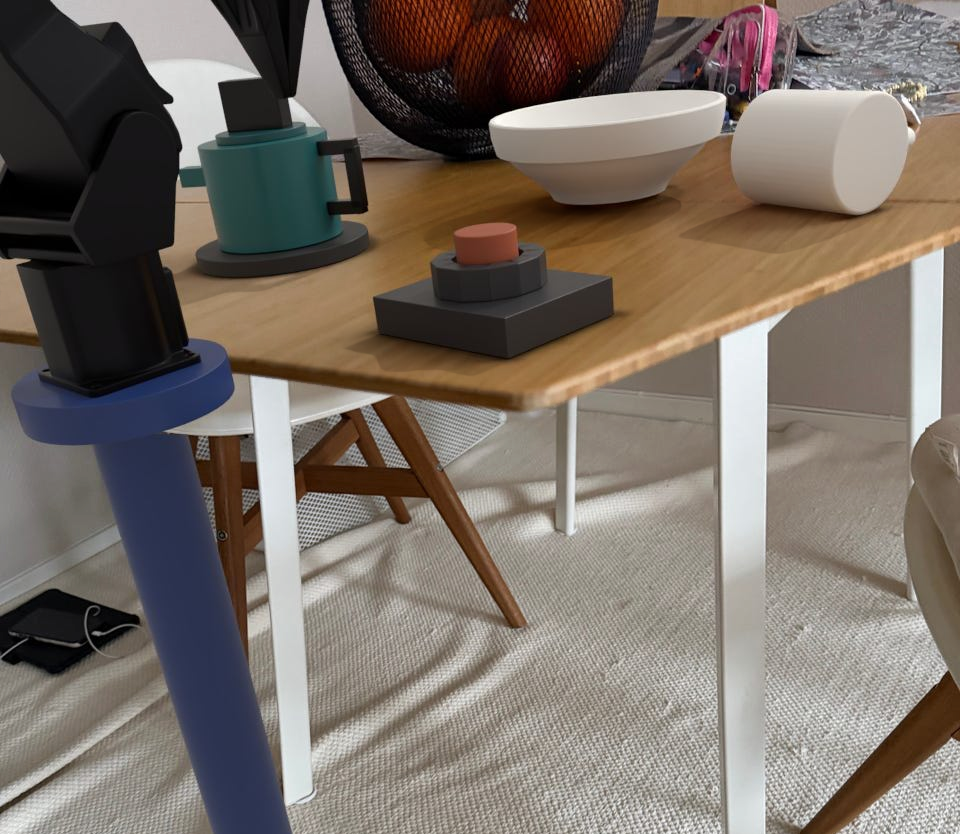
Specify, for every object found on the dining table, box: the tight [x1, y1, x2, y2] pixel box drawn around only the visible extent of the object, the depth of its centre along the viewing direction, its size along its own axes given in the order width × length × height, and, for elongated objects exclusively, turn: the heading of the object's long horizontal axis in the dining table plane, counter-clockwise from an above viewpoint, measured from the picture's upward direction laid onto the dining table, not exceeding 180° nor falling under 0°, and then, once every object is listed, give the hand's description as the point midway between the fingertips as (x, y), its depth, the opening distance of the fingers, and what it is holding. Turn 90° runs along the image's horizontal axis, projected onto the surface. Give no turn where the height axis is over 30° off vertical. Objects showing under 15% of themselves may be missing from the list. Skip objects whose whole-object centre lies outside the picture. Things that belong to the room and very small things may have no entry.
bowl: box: [488, 89, 727, 206], centre depth 92 cm, size 20×20×7 cm
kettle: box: [178, 76, 369, 254], centre depth 85 cm, size 16×10×12 cm, turn 69°
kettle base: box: [195, 220, 371, 278], centre depth 89 cm, size 14×14×1 cm
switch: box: [453, 222, 519, 265], centre depth 63 cm, size 4×4×2 cm
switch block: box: [372, 241, 615, 360], centre depth 64 cm, size 11×9×4 cm
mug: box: [730, 88, 916, 216], centre depth 81 cm, size 12×10×8 cm
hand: (285, 98), depth 62 cm, fingers closed
